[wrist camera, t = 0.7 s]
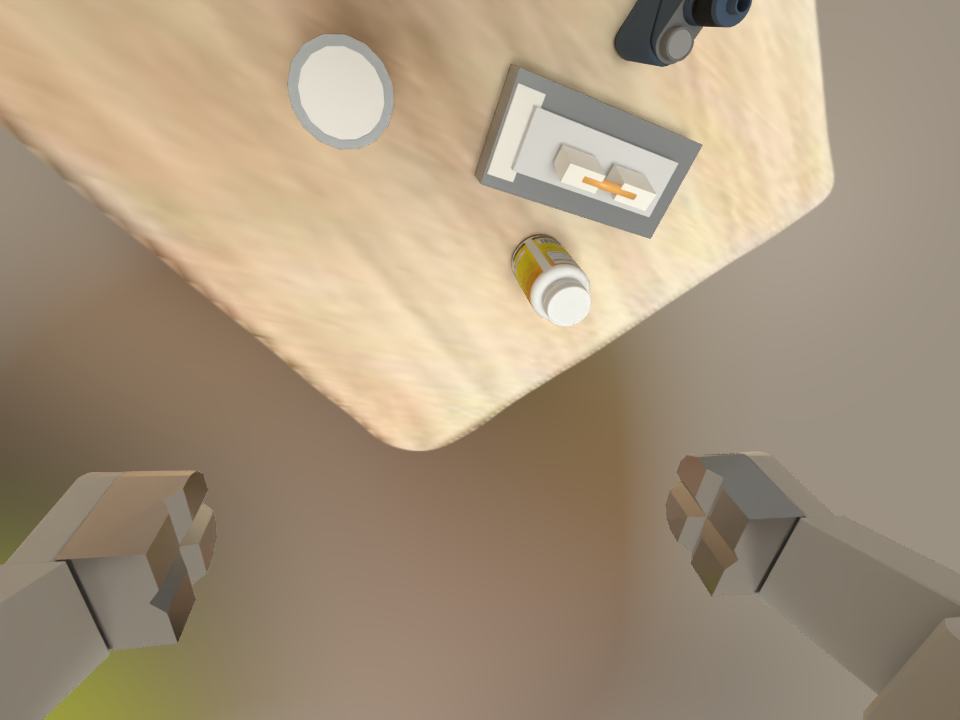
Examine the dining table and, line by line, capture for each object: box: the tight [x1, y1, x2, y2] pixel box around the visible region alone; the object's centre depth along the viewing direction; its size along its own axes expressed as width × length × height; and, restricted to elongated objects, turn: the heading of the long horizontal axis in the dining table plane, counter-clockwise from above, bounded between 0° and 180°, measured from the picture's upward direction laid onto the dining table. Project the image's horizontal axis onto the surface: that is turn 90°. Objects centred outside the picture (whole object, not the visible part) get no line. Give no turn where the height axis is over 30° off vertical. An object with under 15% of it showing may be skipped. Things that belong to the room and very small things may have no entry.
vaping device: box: [615, 0, 752, 67], centre depth 34 cm, size 3×5×12 cm, turn 147°
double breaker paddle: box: [554, 145, 657, 211], centre depth 39 cm, size 2×8×3 cm, turn 70°
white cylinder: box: [287, 34, 394, 149], centre depth 34 cm, size 7×7×7 cm
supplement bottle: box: [512, 235, 591, 327], centre depth 45 cm, size 6×6×10 cm
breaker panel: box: [475, 64, 702, 239], centre depth 42 cm, size 9×18×4 cm, turn 70°
